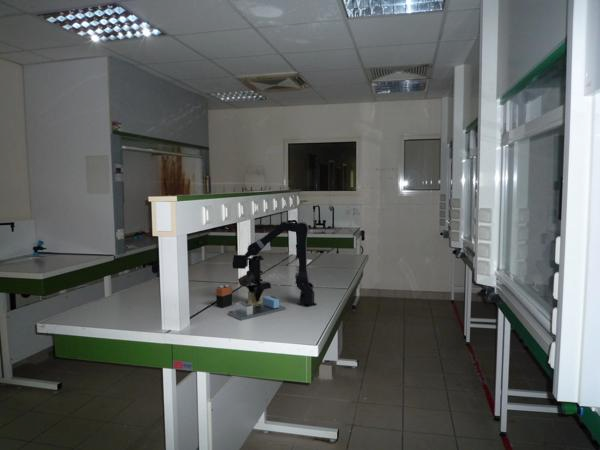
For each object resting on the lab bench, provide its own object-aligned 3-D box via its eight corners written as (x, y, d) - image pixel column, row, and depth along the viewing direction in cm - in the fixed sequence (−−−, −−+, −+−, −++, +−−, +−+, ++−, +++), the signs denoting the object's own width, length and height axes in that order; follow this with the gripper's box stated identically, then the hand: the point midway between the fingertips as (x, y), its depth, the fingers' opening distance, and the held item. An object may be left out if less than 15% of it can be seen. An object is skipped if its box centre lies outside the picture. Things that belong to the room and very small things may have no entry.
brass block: (258, 301, 206) (258, 289, 206) (262, 303, 204) (262, 291, 203) (248, 303, 202) (247, 291, 202) (252, 305, 200) (251, 293, 199)
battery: (216, 306, 198) (215, 286, 198) (226, 303, 204) (225, 283, 203) (222, 308, 196) (222, 287, 195) (232, 304, 202) (232, 284, 201)
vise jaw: (270, 302, 199) (270, 294, 199) (281, 306, 193) (281, 298, 192) (262, 304, 197) (262, 296, 196) (273, 308, 190) (273, 299, 189)
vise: (271, 304, 201) (271, 294, 201) (285, 309, 193) (285, 298, 193) (228, 314, 186) (227, 303, 185) (241, 320, 178) (241, 308, 177)
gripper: (230, 268, 203) (230, 299, 205) (251, 274, 189) (252, 307, 191) (249, 265, 211) (249, 295, 212) (271, 270, 196) (271, 303, 198)
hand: (255, 300), depth 203 cm, fingers closed on brass block, 3 cm apart
